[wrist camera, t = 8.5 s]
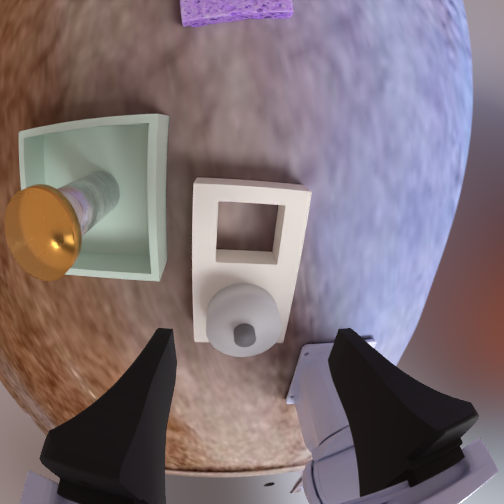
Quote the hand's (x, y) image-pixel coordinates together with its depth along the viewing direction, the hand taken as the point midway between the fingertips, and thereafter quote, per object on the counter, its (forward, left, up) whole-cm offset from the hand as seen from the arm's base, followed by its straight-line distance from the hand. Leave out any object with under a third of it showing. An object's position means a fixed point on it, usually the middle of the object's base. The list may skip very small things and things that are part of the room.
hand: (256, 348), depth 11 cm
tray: (+4, +10, -9) cm, 15 cm away
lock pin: (+4, +10, -9) cm, 14 cm away
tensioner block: (-1, 0, -9) cm, 9 cm away
